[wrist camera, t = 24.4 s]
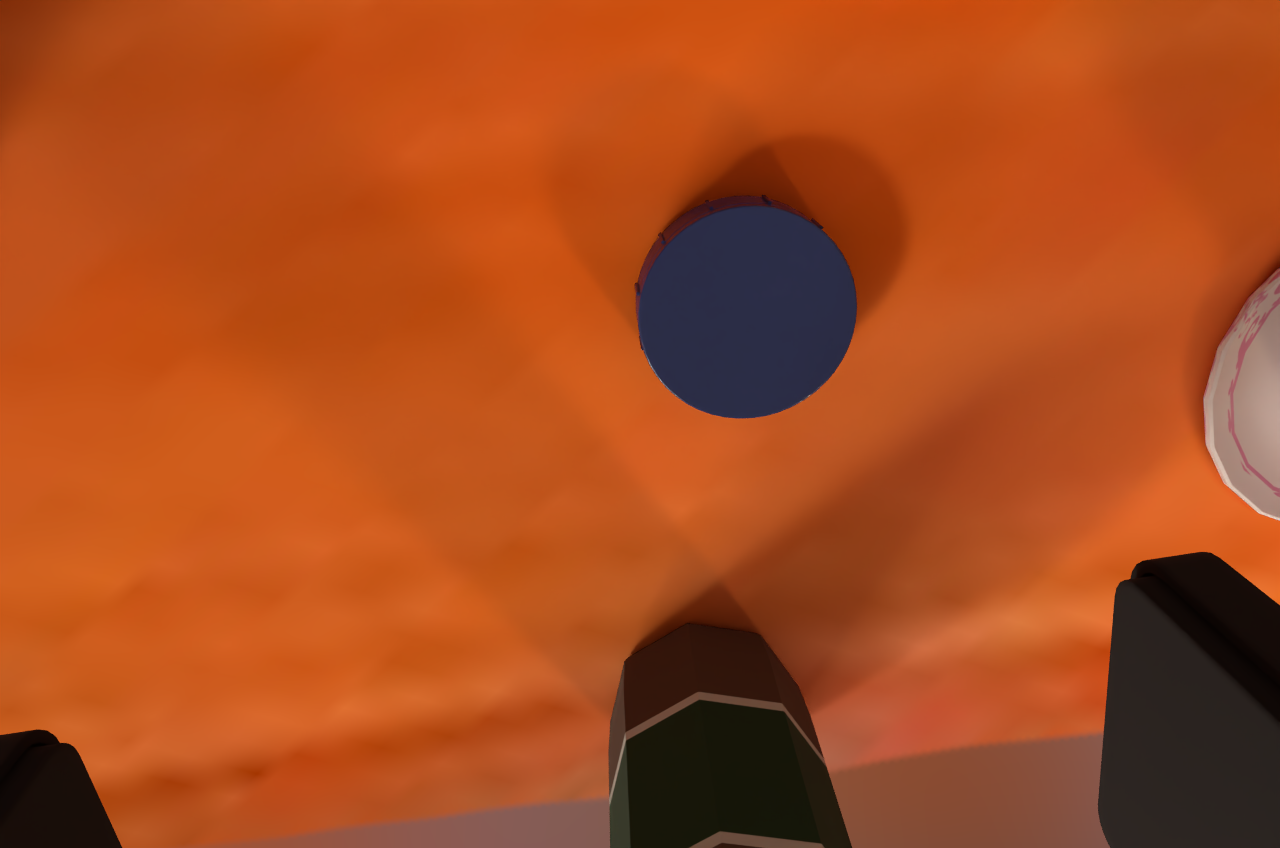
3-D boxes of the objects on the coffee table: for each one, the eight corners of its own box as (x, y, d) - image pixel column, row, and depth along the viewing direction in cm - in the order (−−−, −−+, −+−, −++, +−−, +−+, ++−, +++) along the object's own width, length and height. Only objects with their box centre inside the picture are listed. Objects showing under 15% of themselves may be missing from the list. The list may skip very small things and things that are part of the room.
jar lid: (879, 323, 32) (896, 341, 30) (709, 433, 33) (715, 457, 32) (772, 151, 30) (784, 158, 28) (594, 276, 31) (594, 291, 29)
